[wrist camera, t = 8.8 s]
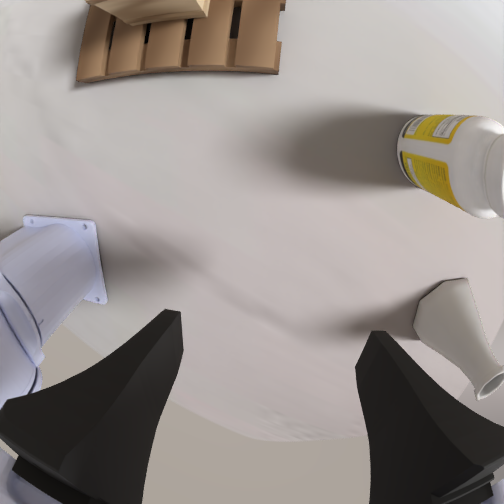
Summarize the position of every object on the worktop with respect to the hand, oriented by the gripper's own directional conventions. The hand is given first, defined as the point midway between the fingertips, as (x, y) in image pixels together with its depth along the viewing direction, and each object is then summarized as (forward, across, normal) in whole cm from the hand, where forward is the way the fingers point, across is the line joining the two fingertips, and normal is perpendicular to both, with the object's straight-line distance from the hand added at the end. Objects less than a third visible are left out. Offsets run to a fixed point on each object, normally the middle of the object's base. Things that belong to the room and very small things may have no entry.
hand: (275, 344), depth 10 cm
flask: (+11, -17, +5) cm, 21 cm away
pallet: (+10, +8, -17) cm, 21 cm away
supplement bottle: (+11, -10, -8) cm, 17 cm away
